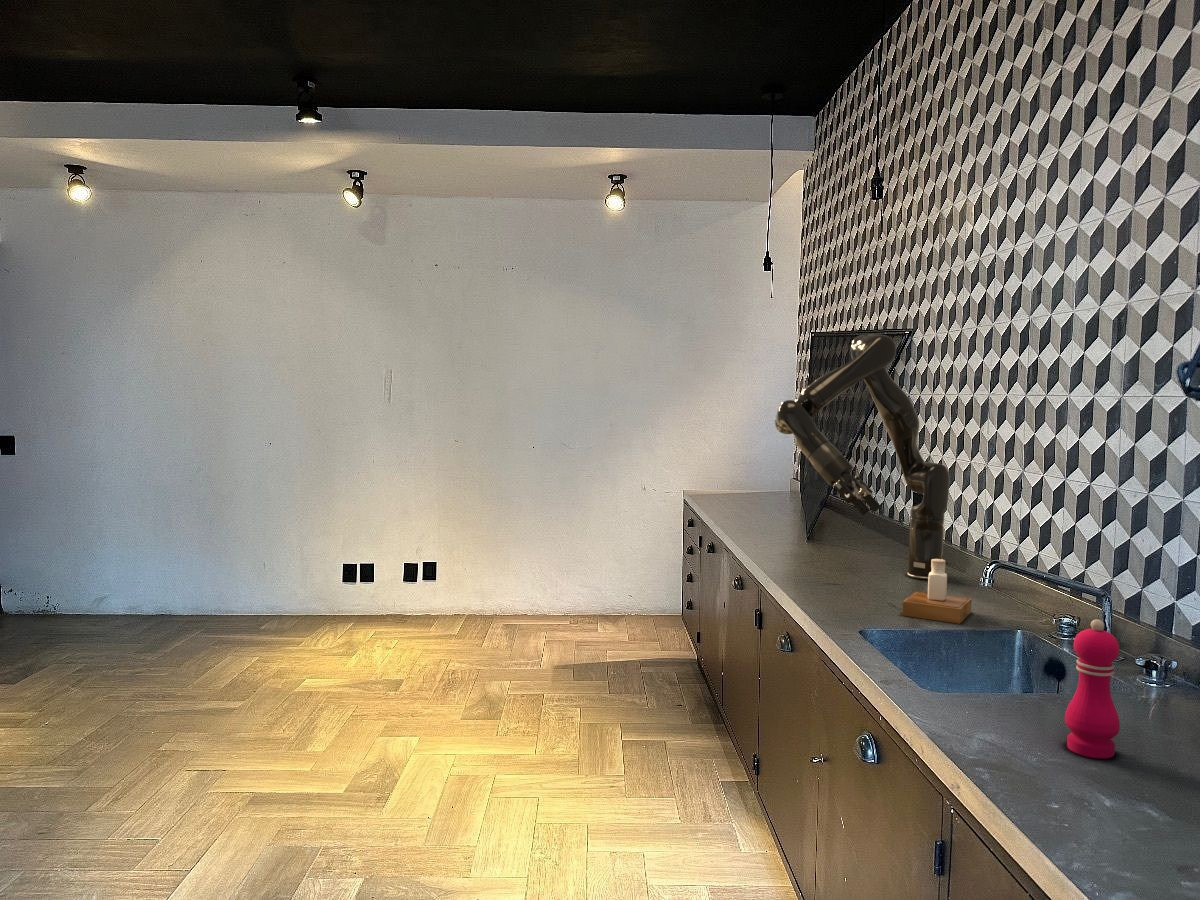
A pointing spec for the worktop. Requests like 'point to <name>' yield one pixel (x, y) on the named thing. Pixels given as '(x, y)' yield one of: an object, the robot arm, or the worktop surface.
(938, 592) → the pepper shaker
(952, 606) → the riser
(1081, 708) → the pepper mill
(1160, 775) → the worktop surface
